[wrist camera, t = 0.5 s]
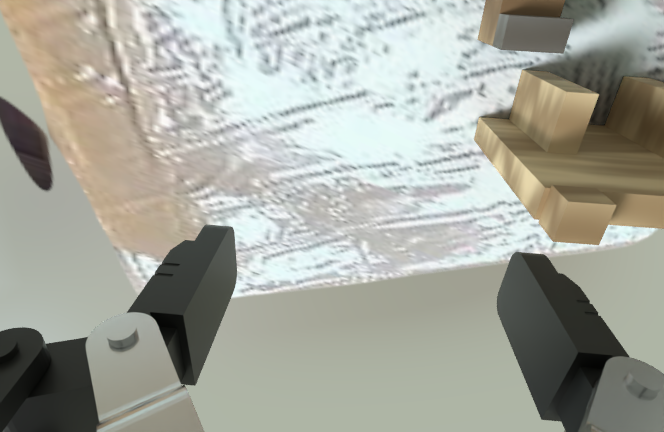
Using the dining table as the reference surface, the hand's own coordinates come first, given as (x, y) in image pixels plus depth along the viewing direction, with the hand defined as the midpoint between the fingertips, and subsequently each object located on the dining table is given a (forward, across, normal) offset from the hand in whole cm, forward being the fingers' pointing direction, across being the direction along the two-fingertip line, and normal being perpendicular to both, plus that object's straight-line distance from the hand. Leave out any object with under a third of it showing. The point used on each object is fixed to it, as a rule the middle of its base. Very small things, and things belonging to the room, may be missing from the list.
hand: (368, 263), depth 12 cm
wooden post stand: (+25, -18, +1) cm, 31 cm away
